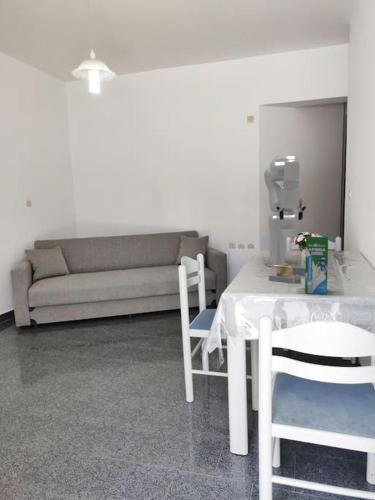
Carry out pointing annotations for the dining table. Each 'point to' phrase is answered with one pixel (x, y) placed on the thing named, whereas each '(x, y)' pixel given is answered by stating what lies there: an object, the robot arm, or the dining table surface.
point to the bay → (297, 276)
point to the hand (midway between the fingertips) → (290, 219)
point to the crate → (284, 270)
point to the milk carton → (316, 265)
